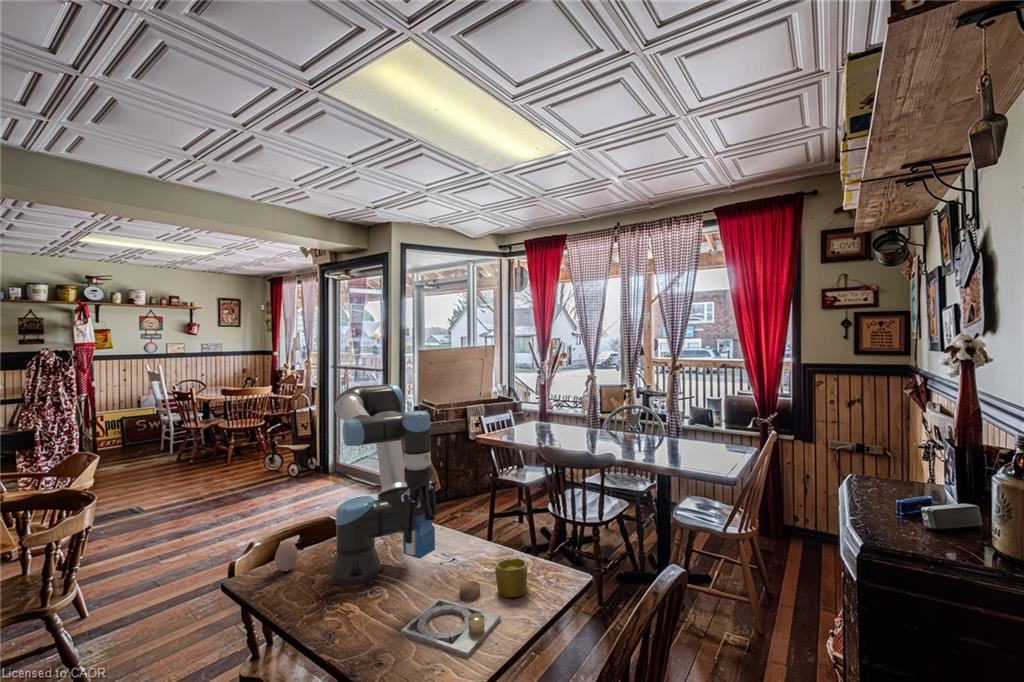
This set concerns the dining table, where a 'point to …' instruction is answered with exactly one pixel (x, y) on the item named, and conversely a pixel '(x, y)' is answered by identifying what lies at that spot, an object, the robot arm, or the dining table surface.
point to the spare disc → (469, 590)
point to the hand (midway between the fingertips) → (419, 547)
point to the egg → (286, 556)
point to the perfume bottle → (422, 535)
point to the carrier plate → (466, 636)
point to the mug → (511, 577)
